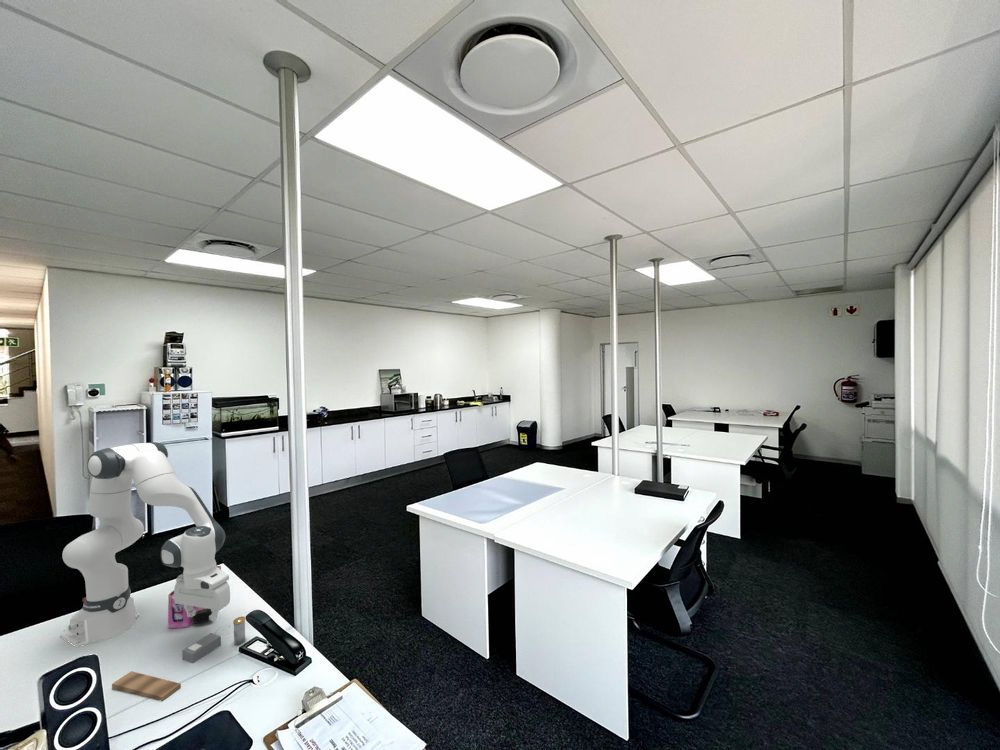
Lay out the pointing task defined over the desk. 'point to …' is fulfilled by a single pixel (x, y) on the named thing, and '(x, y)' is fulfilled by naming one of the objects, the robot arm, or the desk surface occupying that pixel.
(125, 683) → the strip
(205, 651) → the block
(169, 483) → the robot arm
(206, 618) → the tape measure
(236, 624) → the grey metal cylinder
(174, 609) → the gum box
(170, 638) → the desk surface
